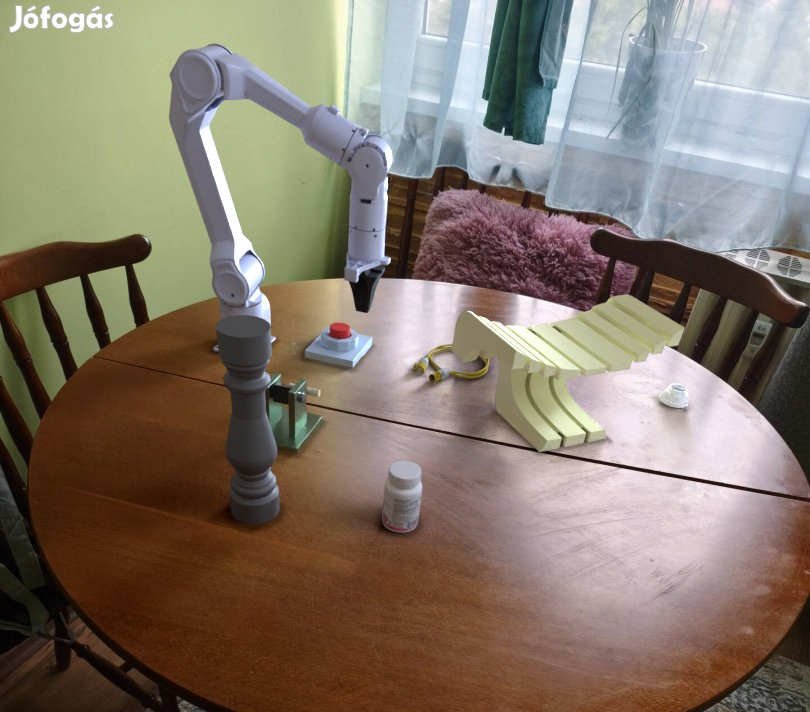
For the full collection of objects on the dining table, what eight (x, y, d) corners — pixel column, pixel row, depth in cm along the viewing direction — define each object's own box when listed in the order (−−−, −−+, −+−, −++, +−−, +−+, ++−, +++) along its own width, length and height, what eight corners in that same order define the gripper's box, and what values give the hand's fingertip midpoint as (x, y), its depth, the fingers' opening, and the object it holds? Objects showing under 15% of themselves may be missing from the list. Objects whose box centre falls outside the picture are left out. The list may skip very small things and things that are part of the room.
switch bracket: (274, 411, 108) (272, 362, 103) (322, 422, 107) (323, 373, 102) (246, 443, 101) (242, 392, 95) (297, 455, 100) (296, 404, 94)
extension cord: (397, 355, 127) (398, 345, 126) (471, 346, 133) (473, 336, 132) (426, 387, 119) (427, 376, 118) (504, 375, 125) (506, 365, 124)
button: (333, 330, 126) (333, 320, 124) (352, 334, 125) (352, 324, 124) (326, 337, 123) (326, 328, 122) (345, 341, 122) (346, 332, 121)
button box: (326, 335, 131) (327, 317, 128) (371, 345, 129) (373, 327, 127) (304, 359, 123) (304, 340, 120) (352, 370, 121) (353, 351, 119)
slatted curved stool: (588, 385, 125) (617, 287, 114) (646, 430, 115) (684, 327, 103) (443, 409, 114) (458, 303, 102) (492, 461, 103) (516, 350, 92)
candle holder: (288, 504, 91) (283, 321, 75) (265, 532, 86) (255, 343, 70) (245, 492, 92) (232, 309, 76) (221, 518, 87) (201, 330, 71)
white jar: (666, 392, 126) (653, 401, 123) (671, 378, 124) (659, 386, 121) (691, 403, 123) (679, 412, 120) (697, 389, 121) (685, 397, 118)
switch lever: (289, 394, 109) (291, 378, 108) (319, 401, 108) (321, 385, 107) (263, 399, 99) (265, 382, 98) (296, 406, 98) (298, 390, 98)
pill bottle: (380, 510, 92) (384, 457, 86) (415, 511, 92) (422, 458, 87) (382, 533, 88) (387, 480, 83) (419, 534, 89) (426, 481, 83)
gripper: (377, 243, 102) (372, 331, 111) (404, 218, 113) (397, 300, 121) (332, 235, 103) (330, 323, 112) (363, 211, 114) (359, 292, 122)
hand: (362, 310), depth 117 cm, fingers closed
